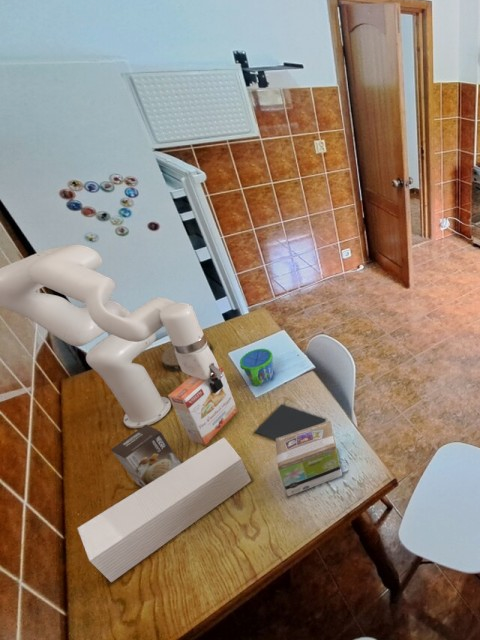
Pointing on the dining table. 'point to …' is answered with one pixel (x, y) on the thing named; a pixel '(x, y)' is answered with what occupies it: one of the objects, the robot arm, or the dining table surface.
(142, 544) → the white long rectangular block
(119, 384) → the robot arm
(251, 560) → the dining table surface
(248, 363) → the snack cup
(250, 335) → the dining table surface
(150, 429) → the coffee box
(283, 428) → the placemat
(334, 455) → the tea box
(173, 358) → the round cork coaster
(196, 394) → the cracker box
